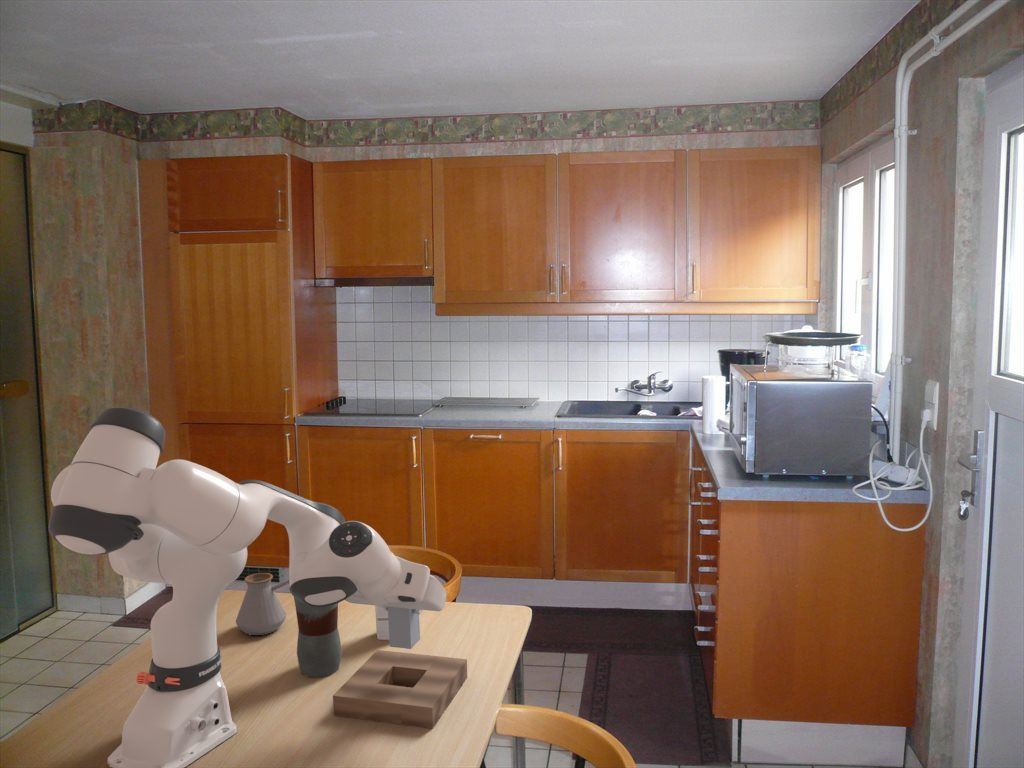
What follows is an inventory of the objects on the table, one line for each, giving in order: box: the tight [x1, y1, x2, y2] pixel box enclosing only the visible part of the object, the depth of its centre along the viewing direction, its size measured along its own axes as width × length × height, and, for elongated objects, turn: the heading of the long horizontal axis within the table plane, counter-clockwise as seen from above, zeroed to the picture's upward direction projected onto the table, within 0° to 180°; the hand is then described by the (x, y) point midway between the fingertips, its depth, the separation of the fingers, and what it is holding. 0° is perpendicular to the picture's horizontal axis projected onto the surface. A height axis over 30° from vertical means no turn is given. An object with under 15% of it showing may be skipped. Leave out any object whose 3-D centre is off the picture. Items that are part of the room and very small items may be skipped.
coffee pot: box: [235, 572, 290, 636], centre depth 196 cm, size 21×12×15 cm, turn 95°
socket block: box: [332, 649, 468, 729], centre depth 163 cm, size 20×20×4 cm
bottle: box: [293, 596, 343, 678], centre depth 174 cm, size 9×9×30 cm
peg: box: [388, 607, 421, 650], centre depth 160 cm, size 4×4×10 cm
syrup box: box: [374, 605, 389, 641], centre depth 191 cm, size 6×6×14 cm
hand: (404, 609), depth 161 cm, fingers closed on peg, 4 cm apart
